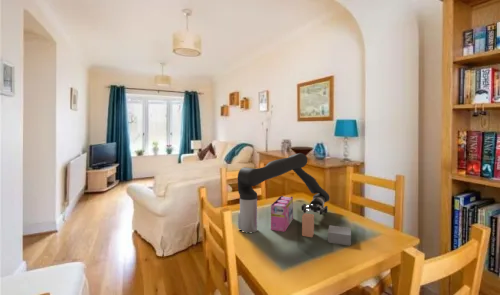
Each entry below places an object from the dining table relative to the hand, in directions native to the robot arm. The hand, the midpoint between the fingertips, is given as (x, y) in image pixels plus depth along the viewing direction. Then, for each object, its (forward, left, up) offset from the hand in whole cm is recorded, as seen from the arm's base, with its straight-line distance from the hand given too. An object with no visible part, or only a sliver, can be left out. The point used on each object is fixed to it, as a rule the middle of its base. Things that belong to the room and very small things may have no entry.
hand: (312, 212), depth 135 cm
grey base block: (+15, -12, -9) cm, 21 cm away
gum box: (-16, -2, -9) cm, 19 cm away
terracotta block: (0, -12, -8) cm, 14 cm away
